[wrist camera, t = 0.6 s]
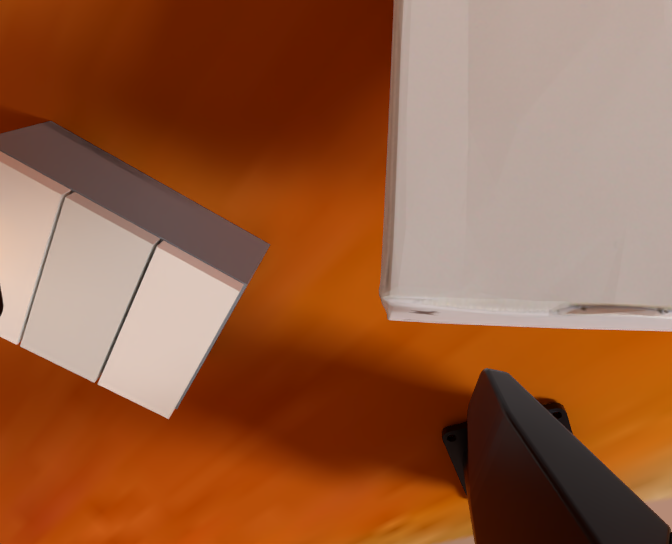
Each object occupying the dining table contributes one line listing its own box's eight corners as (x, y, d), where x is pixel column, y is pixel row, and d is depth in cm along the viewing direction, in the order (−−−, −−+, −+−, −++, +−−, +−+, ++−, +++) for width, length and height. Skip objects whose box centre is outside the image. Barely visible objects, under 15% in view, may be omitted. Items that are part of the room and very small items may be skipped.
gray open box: (270, 244, 23) (247, 284, 19) (206, 357, 26) (176, 409, 22) (50, 120, 21) (-20, 138, 17) (14, 258, 24) (-50, 297, 21)
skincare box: (400, -126, 16) (368, 318, 14) (409, -398, 10) (356, 311, 8) (668, -132, 15) (667, 342, 13) (855, -438, 9) (894, 353, 7)
